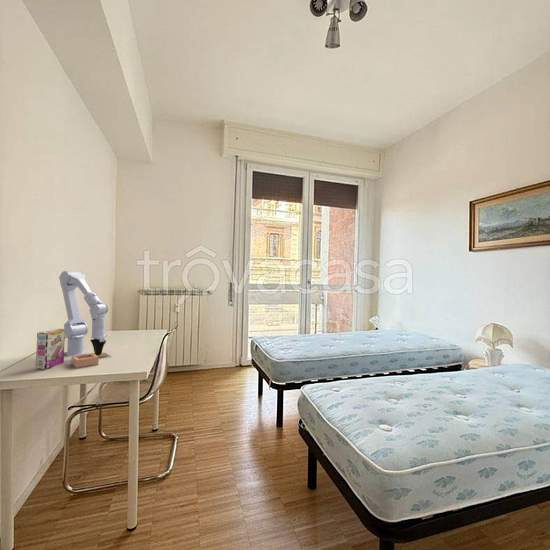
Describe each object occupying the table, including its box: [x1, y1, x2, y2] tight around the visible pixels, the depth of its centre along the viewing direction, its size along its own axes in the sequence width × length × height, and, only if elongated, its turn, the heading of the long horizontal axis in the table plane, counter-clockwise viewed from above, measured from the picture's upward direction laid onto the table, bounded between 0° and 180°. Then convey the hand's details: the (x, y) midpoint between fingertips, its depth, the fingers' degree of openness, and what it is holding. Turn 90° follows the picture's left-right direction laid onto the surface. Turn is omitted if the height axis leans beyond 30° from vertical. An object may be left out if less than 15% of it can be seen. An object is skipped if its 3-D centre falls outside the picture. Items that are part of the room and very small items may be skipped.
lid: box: [93, 350, 108, 359], centre depth 154 cm, size 8×8×4 cm
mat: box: [99, 353, 112, 360], centre depth 154 cm, size 10×10×1 cm
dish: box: [71, 352, 100, 369], centre depth 140 cm, size 9×9×4 cm
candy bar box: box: [35, 328, 66, 370], centre depth 138 cm, size 11×5×16 cm, turn 178°
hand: (97, 353), depth 154 cm, fingers closed on lid, 3 cm apart
